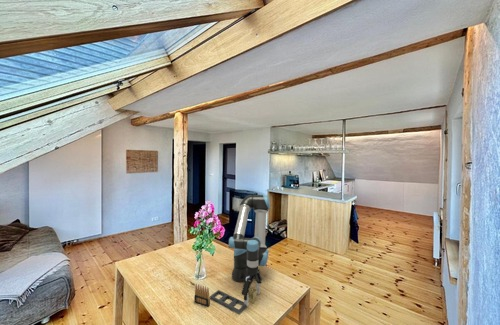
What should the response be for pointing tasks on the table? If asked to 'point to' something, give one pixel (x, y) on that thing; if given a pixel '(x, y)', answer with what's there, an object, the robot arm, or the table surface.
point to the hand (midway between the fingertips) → (252, 298)
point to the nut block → (252, 295)
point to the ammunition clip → (202, 296)
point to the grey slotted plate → (230, 305)
